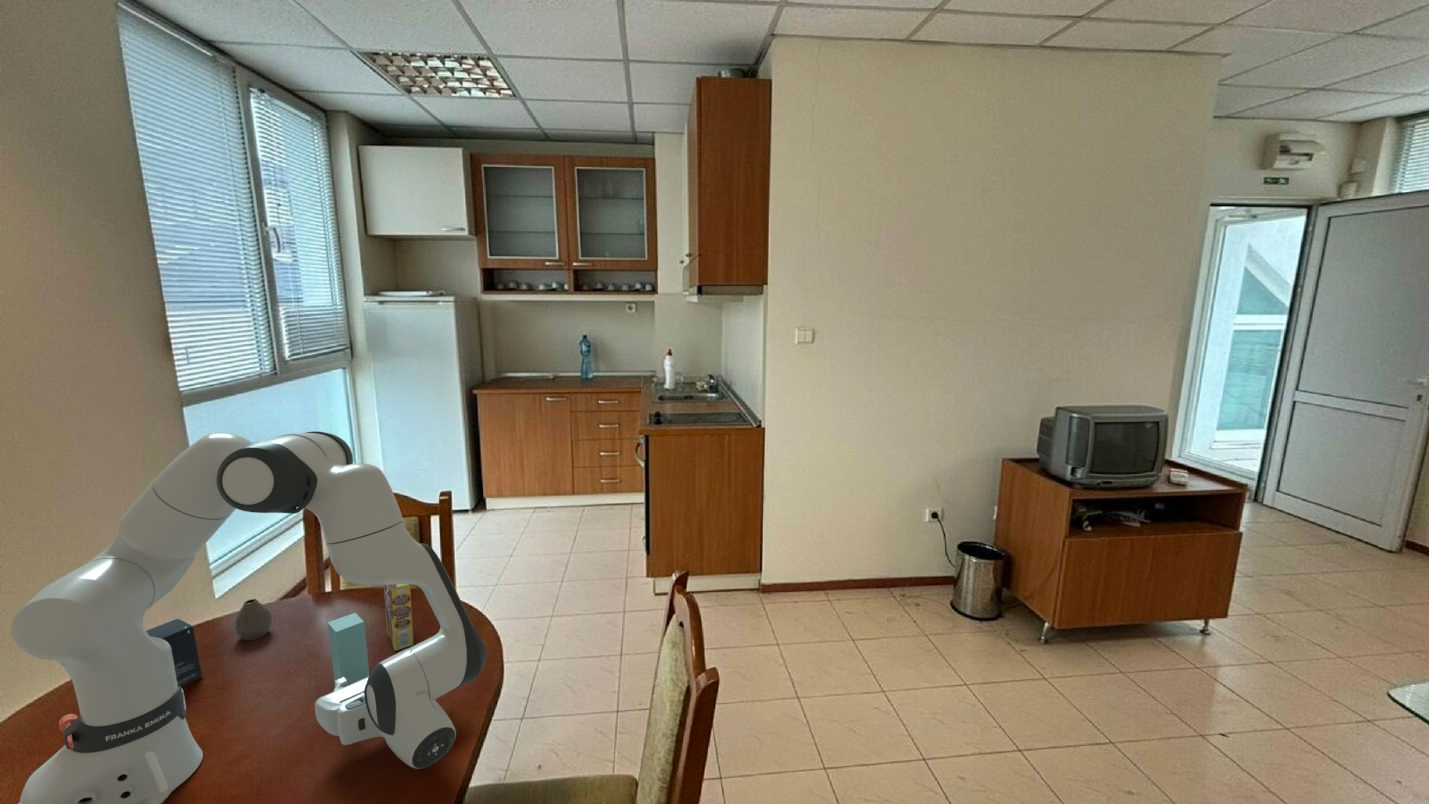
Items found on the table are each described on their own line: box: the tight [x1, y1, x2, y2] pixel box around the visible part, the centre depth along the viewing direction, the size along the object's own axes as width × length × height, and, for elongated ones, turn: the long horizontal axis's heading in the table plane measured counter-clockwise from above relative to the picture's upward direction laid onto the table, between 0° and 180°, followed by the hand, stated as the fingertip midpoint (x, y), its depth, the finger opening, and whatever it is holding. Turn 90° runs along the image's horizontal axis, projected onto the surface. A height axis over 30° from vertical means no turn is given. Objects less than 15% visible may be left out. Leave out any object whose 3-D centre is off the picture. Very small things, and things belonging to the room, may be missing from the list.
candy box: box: [383, 584, 415, 652], centre depth 134 cm, size 9×4×15 cm, turn 39°
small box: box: [146, 618, 204, 688], centre depth 116 cm, size 13×7×12 cm, turn 154°
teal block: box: [327, 612, 370, 686], centre depth 119 cm, size 5×5×14 cm
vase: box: [233, 598, 273, 641], centre depth 135 cm, size 7×7×9 cm
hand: (366, 670), depth 112 cm, fingers open, 8 cm apart
